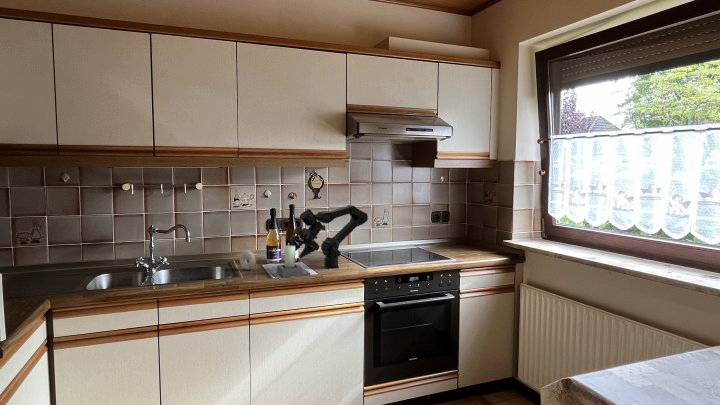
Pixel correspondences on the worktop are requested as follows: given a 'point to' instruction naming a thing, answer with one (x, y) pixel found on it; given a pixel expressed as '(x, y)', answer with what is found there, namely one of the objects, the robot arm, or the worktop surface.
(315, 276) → the worktop surface
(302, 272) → the socket
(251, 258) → the donut
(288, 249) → the pale green cylinder
